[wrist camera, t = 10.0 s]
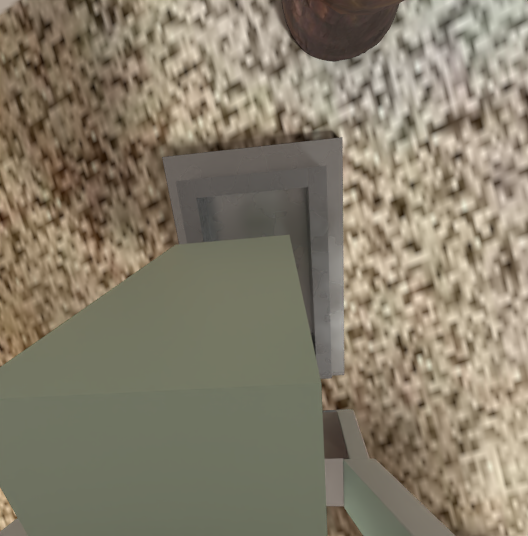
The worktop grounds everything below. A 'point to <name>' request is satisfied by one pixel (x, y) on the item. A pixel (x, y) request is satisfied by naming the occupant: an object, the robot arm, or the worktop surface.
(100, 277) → the worktop surface
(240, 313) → the block
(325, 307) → the duct collar
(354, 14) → the mortar and pestle
